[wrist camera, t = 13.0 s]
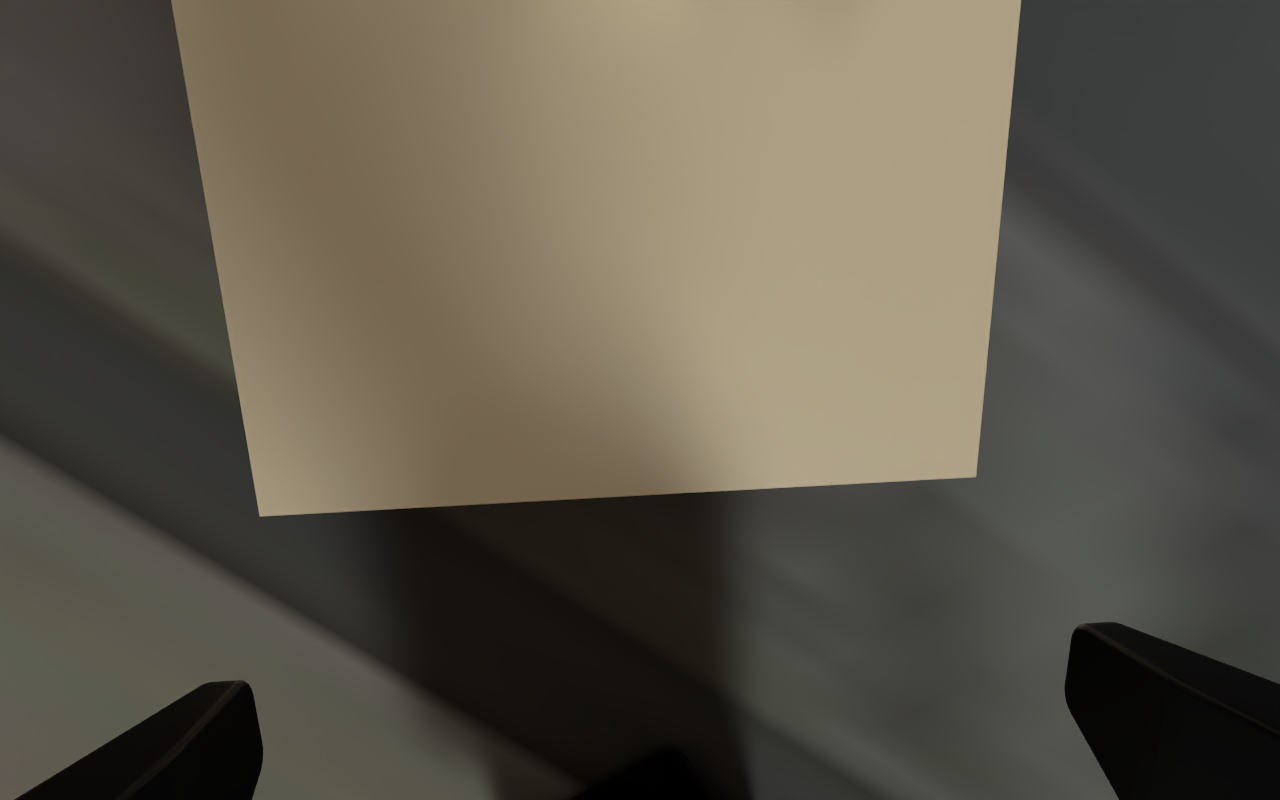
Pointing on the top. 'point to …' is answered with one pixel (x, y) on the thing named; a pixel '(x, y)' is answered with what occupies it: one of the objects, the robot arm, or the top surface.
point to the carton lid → (601, 241)
